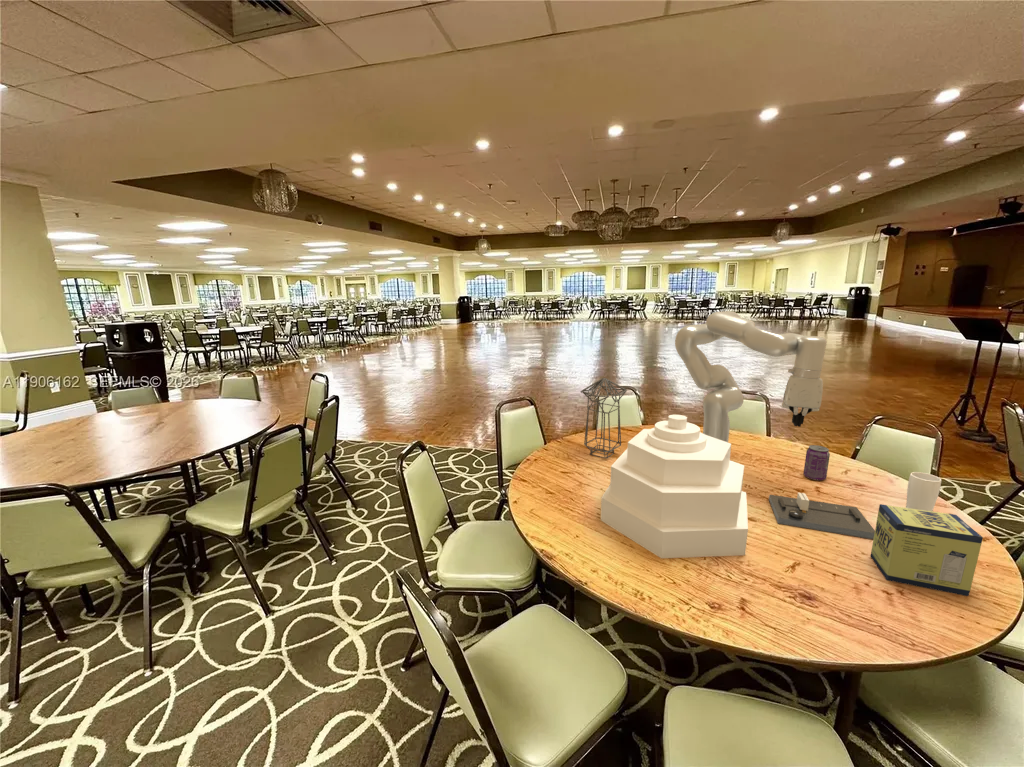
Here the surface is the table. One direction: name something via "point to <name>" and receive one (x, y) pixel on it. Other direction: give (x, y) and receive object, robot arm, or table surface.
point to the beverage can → (816, 462)
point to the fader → (802, 501)
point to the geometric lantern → (596, 385)
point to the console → (821, 517)
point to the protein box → (925, 549)
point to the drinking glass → (922, 491)
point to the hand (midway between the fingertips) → (796, 425)
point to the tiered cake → (678, 493)
